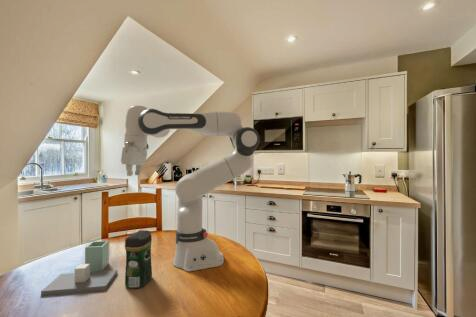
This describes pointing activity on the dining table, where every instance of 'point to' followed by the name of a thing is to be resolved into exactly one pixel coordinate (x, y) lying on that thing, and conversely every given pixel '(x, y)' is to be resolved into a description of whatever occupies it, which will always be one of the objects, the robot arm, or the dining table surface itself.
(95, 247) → the mint green pencil cup
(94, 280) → the stub board
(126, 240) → the coffee jar
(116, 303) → the dining table surface
